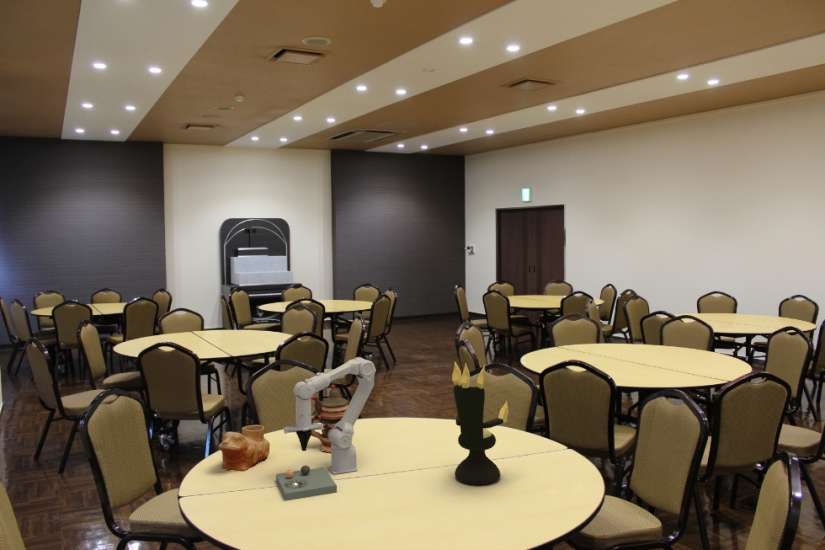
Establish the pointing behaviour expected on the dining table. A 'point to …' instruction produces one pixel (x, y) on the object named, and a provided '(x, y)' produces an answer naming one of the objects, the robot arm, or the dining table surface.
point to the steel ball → (295, 484)
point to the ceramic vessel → (244, 448)
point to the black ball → (305, 470)
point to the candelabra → (475, 429)
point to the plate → (306, 484)
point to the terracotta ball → (289, 473)
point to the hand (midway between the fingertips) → (303, 450)
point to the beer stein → (328, 415)
